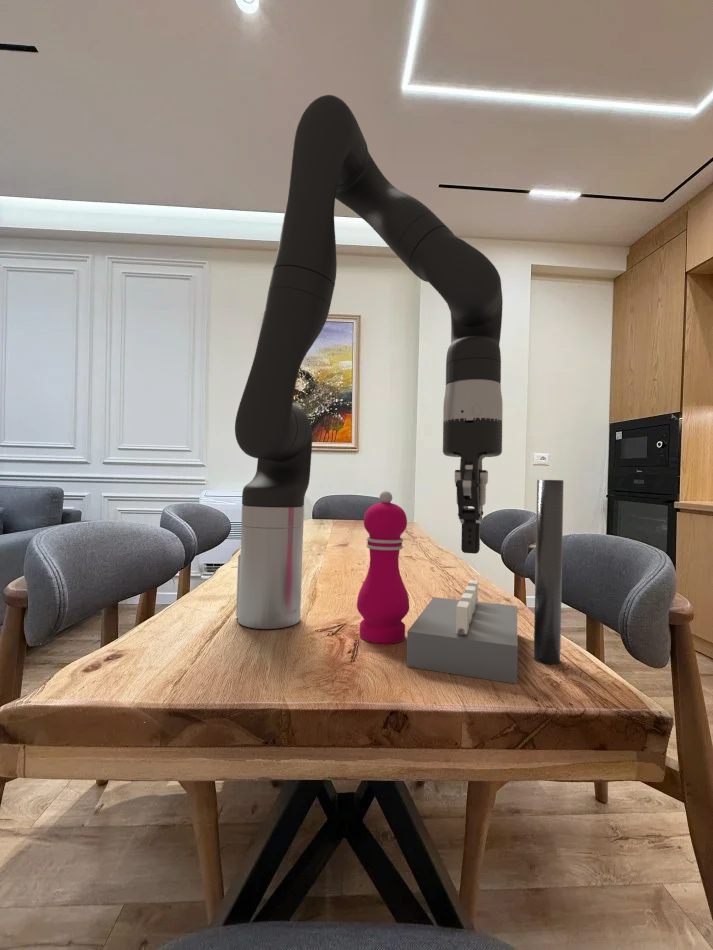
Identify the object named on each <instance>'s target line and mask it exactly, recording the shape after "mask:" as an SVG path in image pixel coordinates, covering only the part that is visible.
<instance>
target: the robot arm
mask: <svg viewBox="0 0 713 950" xmlns="http://www.w3.org/2000/svg"><path fill="white" fill-rule="evenodd" d="M368 149H369V148H368V144H367V142H366V139H365V137H364V135H363V132H362V129H361V127H360V125H359V122H358V121H357V119H356V117H355V114H354V113H353V111H352V110H351V109H350V107H349V105H348V104H347V103H346V102H345V101H344V100H343V99H341V98H340V97H338V96H336V95H334V94H333V95H332V94H325V95H321V96H319V97H318V98H316V99H314V100H313V101H312V102H311V103H310V104H309V105H308V106H307V107H306V108H305V110H304V111H303V113H302V114H301V117H300V119H299V120H298V123H297V127H296V130H295V134H294V139H293V146H292V156H291V167H290V176H289V184H288V194H287V200H286V206H285V211H284V216H283V222H282V224H281V225H282V226H281V231H280V236H279V241H278V247H277V252H276V255H275V260H274V264H273V267H272V274H271V277H270V283H269V285H268V286H269V287H268V291H267V298H266V303H265V308H264V309H265V310H264V314H263V318H262V322H261V327H260V331H259V336H258V341H257V345H256V349H255V353H254V358H253V361H252V365H251V367H250V371H249V374H248V377H247V380H246V384H245V387H244V390H243V393H242V395H241V398H240V402H239V406H238V408H237V411H236V416H235V422H234V435H235V438H236V443H237V444H238V447H239V448H240V449H241V450H242V451H243V453H245V455H247V456H249V457H251V458H254V459H257V462H256V463H257V464H256V471H255V474H254V477H253V478H252V480H251V481H250V482H249V483H247V484H246V485H244V487H243V489H242V494H241V529H240V530H241V532H240V534H241V535H240V554H239V555H238V557H237V583H236V609H235V616H236V618H237V622H238V624H240V625H241V626H243V627H248V628H250V629H257V630H258V629H260V630H273V629H282V628H287V627H291V626H294V625H296V624H298V623H299V622H300V620H301V610H302V609H301V607H302V603H301V602H302V585H303V584H302V583H303V582H302V580H303V577H302V576H303V552H304V550H303V548H304V546H303V545H304V516H305V515H304V511H305V495H306V493H307V491H308V488H309V484H310V480H311V479H310V478H311V465H312V451H313V450H312V449H313V431H312V424H311V421H310V418H309V416H308V415H307V413H306V412H305V411H304V410H303V409H302V408H300V407H299V406H297V405H295V404H293V403H294V397H295V396H294V395H295V390H296V385H297V381H298V380H297V379H298V375H299V372H300V369H301V366H302V364H303V362H304V359H305V357H306V356H307V354H308V352H310V349H311V348H312V346H313V345H314V343H315V342H316V340H317V338H318V337H319V335H320V334H321V333H322V330H323V329H324V327H325V325H326V323H327V319H328V316H329V313H330V309H331V305H332V300H333V295H334V291H335V285H336V279H337V267H338V266H337V264H338V263H337V261H338V260H337V244H336V230H335V229H336V228H335V226H336V225H335V206H336V205H335V202H336V200H337V201H339V202H340V203H341V204H343V205H344V206H346V207H347V208H349V209H350V210H352V211H353V212H354V213H355V214H357V215H358V216H359V217H360V218H361V219H362V220H364V222H365V223H367V224H368V225H369V226H370V227H371V228H372V229H373V230H374V231H375V233H377V235H379V237H380V238H381V239H382V240H383V242H385V244H386V245H387V246H388V247H389V248H390V249H391V250H392V252H393V253H394V254H395V255H396V256H397V257H398V258H399V259H400V260H401V262H403V264H404V265H405V266H406V267H407V268H408V269H409V270H410V271H411V272H412V273H413V274H414V275H415V276H416V277H417V278H419V279H420V280H421V281H424V282H426V283H428V284H430V285H431V286H432V287H433V288H434V290H436V292H438V294H439V295H440V296H441V297H442V299H443V300H444V302H445V303H446V304H447V308H448V309H449V312H450V321H451V322H450V333H451V334H450V345H449V347H447V353H446V358H445V359H446V360H445V389H444V391H445V392H444V398H443V410H442V411H443V413H442V414H443V415H442V416H443V418H442V421H443V422H442V453H443V455H444V456H446V457H452V458H460V461H459V462H460V465H459V469H455V470H454V483H455V487H456V505H457V509H458V511H457V518H458V519H459V522H460V524H461V551H462V552H463V553H464V554H478V553H479V552H480V550H481V524H482V522H483V515H484V511H483V508H484V506H485V505H486V494H487V492H486V491H487V484H488V483H489V471H488V470H487V469H483V459H485V458H493V457H498V456H501V454H503V453H502V452H503V407H504V406H503V404H504V403H503V395H502V384H501V383H502V380H501V379H502V356H501V355H502V353H501V347H500V342H501V333H502V322H503V302H504V301H503V291H502V279H501V275H500V274H499V271H498V269H497V268H496V266H495V264H493V262H492V261H491V260H490V259H489V258H488V257H487V256H486V255H485V254H484V253H482V252H481V251H480V250H478V249H477V248H476V247H474V246H473V245H471V244H469V243H468V242H466V241H465V240H463V239H461V238H460V237H457V236H456V235H455V234H454V233H453V231H452V230H451V229H450V228H449V227H448V226H447V225H446V224H445V223H444V222H443V221H442V220H441V219H440V218H439V217H438V216H437V215H436V214H435V213H434V212H433V210H431V209H430V208H429V207H427V205H425V204H424V203H422V201H420V200H418V199H417V198H415V197H414V196H412V195H409V194H407V193H405V192H404V191H401V190H400V189H399V188H397V187H395V186H394V184H393V183H391V182H390V181H389V180H388V179H387V177H386V176H385V175H384V174H383V172H382V171H381V170H380V168H379V167H378V165H377V164H376V161H374V158H373V157H372V155H371V154H370V152H369V150H368ZM471 507H472V508H471Z"/></svg>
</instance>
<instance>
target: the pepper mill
mask: <svg viewBox="0 0 713 950" xmlns="http://www.w3.org/2000/svg"><path fill="white" fill-rule="evenodd" d="M392 500H393V495H392V493H391V492H389V491H387V490H386V491H385V490H384V491H382V492H381V493H380V494H379V501H380V502H378V503H375V504H374V503H373V504H372V505H371V506H369V507H368V508H367V510H366V511H365V513H364V517H363V527H364V529H365V531H366V532H367V533H368V535H369V536H368V537H367V538H366V541H367V543H366V548H368V549H369V567H368V569H367V574H366V577H365V579H364V581H363V583H362V584H361V587H360V588H359V592H358V595H357V600H356V609H357V611H358V613H359V614H360V615H361V617H362V618H363V619H362V620H361V621H360V622H359V636H360V638H361V639H362V640H364V641H367V642H369V643H372V644H373V643H374V644H380V645H381V644H384V645H385V644H386V645H391V644H396V643H399V642H402V641H404V639H405V638H406V624H405V622H404V621H403V619H404V618H405V617H406V616H407V614H408V613H409V611H410V599H409V595H408V591H407V589H406V587H405V584H404V581H403V578H402V576H401V572H400V568H399V567H400V566H399V557H400V551H401V550H402V549H403V548H404V547H403V542H404V539H403V538H401V536H402V535H403V533H404V532H405V531H406V530H407V527H408V526H407V525H408V517H407V514H406V512H405V511H404V509H403V508H402V507H401V506H399V505H398V504H396V503H393V502H392Z"/></svg>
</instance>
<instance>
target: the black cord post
mask: <svg viewBox="0 0 713 950" xmlns="http://www.w3.org/2000/svg"><path fill="white" fill-rule="evenodd" d="M535 520H536V521H535V522H536V524H535V526H536V527H535V528H536V529H535V567H534V568H535V571H534V572H535V577H534V579H535V580H534V582H535V583H534V619H533V620H534V629H533V632H534V633H533V659H534V660H535V661H537V662H538V663H539V662H540V663H542V664H546V665H558V664H560V663H561V646H562V645H561V641H562V640H561V638H562V637H561V636H562V635H561V634H562V632H561V631H562V591H563V590H562V585H563V584H562V583H563V582H562V581H563V529H564V528H563V527H564V526H563V525H564V521H563V520H564V480H562V479H561V480H560V479H537V481H536V519H535Z"/></svg>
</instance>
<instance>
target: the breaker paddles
mask: <svg viewBox="0 0 713 950" xmlns="http://www.w3.org/2000/svg"><path fill="white" fill-rule="evenodd" d="M467 583H468V584H467V585H466V586H465V589H464V592H463V593H462V595H461V596H460V600H461V601H459V602H458V604H457V608H456V633H458V634H459V635H464V634H467V632H468V629H469V623H471V620H472V613H473V614H474V611H475V605H477V602H479V579H478V580H477V579H469V581H468V582H467Z"/></svg>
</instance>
